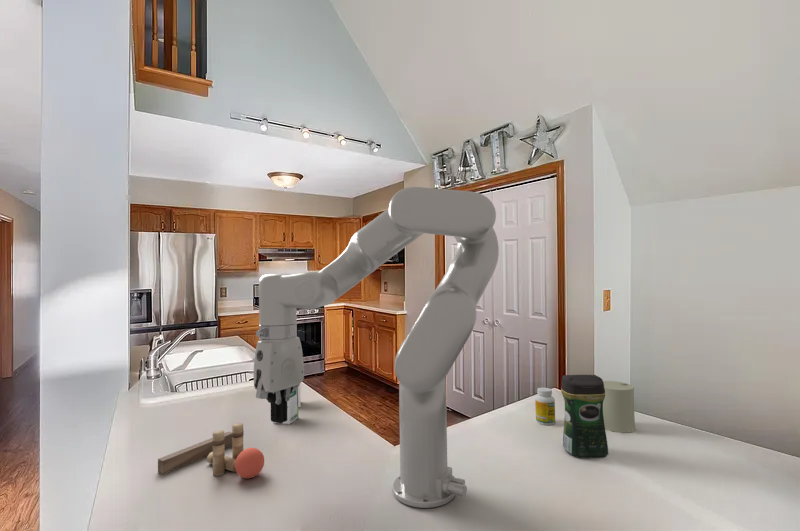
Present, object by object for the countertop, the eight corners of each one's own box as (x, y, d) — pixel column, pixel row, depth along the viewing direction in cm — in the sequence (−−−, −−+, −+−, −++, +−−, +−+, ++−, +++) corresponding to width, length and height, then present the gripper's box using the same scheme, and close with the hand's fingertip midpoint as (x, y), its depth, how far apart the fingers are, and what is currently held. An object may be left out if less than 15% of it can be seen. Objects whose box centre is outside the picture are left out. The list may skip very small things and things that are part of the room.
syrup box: (290, 424, 117) (289, 375, 118) (271, 423, 118) (271, 374, 119) (298, 417, 123) (298, 370, 123) (281, 416, 124) (280, 370, 124)
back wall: (233, 444, 104) (233, 432, 104) (162, 474, 88) (162, 460, 88) (228, 443, 105) (228, 431, 105) (157, 472, 89) (157, 459, 89)
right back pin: (246, 462, 93) (245, 424, 94) (236, 467, 91) (236, 427, 91) (239, 460, 95) (238, 422, 95) (229, 464, 92) (229, 425, 93)
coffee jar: (597, 445, 99) (595, 371, 100) (613, 460, 92) (610, 379, 92) (558, 445, 100) (556, 371, 100) (570, 460, 92) (568, 379, 93)
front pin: (240, 458, 90) (215, 449, 95) (231, 463, 88) (206, 454, 93) (241, 468, 90) (216, 459, 95) (232, 474, 88) (207, 465, 93)
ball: (248, 448, 91) (258, 474, 90) (225, 460, 86) (236, 487, 85) (262, 439, 89) (274, 464, 87) (240, 450, 84) (251, 478, 82)
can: (643, 429, 109) (642, 385, 109) (619, 435, 106) (617, 389, 106) (614, 418, 118) (613, 378, 118) (590, 423, 114) (589, 381, 115)
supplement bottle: (541, 417, 119) (540, 385, 120) (558, 422, 116) (557, 389, 116) (532, 422, 116) (531, 389, 116) (550, 427, 112) (549, 393, 112)
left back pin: (227, 472, 89) (227, 431, 89) (217, 477, 87) (217, 435, 87) (220, 469, 90) (220, 429, 91) (210, 474, 88) (209, 433, 88)
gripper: (261, 339, 75) (262, 437, 74) (316, 329, 88) (317, 413, 87) (235, 336, 79) (236, 430, 78) (291, 327, 92) (292, 407, 91)
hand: (279, 421), depth 83 cm, fingers closed
